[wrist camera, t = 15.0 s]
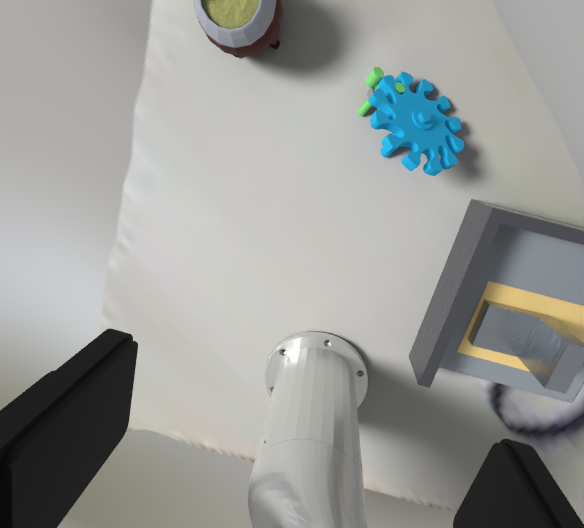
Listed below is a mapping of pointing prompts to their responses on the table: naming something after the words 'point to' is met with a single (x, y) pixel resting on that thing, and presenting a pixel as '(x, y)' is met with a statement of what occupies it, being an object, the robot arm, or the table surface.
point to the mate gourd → (240, 24)
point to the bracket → (530, 342)
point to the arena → (502, 293)
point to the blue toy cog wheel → (413, 121)
